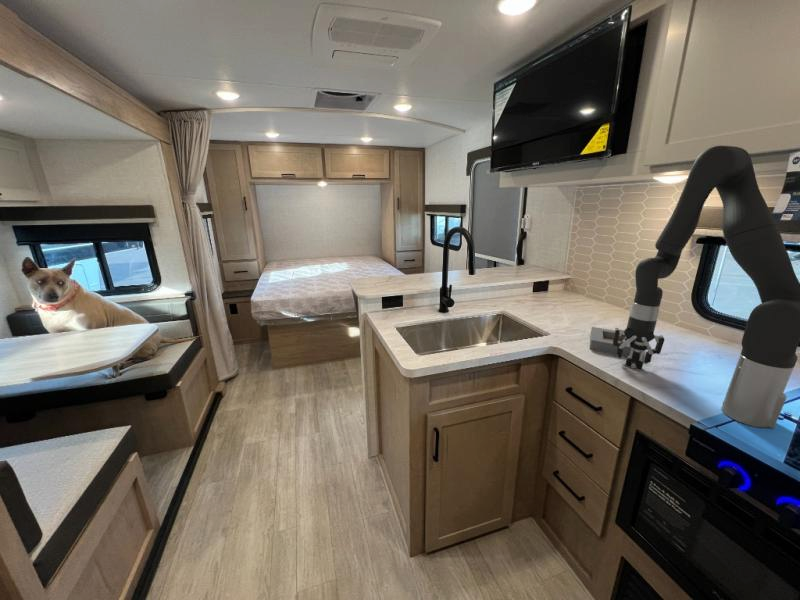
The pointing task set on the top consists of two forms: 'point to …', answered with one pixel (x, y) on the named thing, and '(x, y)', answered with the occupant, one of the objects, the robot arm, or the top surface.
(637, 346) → the push button
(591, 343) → the housing
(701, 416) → the top surface
